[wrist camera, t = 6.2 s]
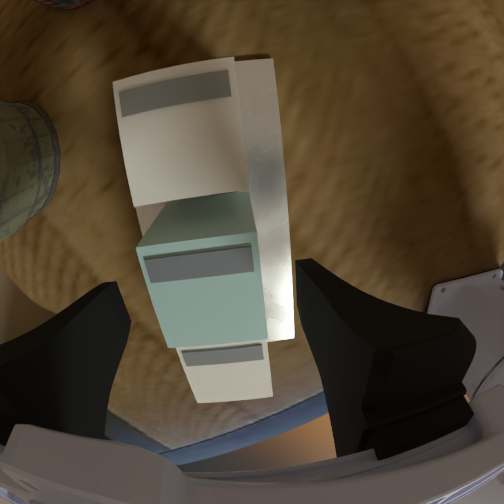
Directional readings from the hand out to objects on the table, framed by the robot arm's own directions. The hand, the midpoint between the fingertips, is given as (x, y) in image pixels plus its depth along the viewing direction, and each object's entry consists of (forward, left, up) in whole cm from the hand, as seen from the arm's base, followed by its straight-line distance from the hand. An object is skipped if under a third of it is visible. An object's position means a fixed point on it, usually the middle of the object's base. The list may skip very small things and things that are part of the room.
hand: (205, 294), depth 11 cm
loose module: (0, 0, -6) cm, 6 cm away
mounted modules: (0, 0, -6) cm, 6 cm away
